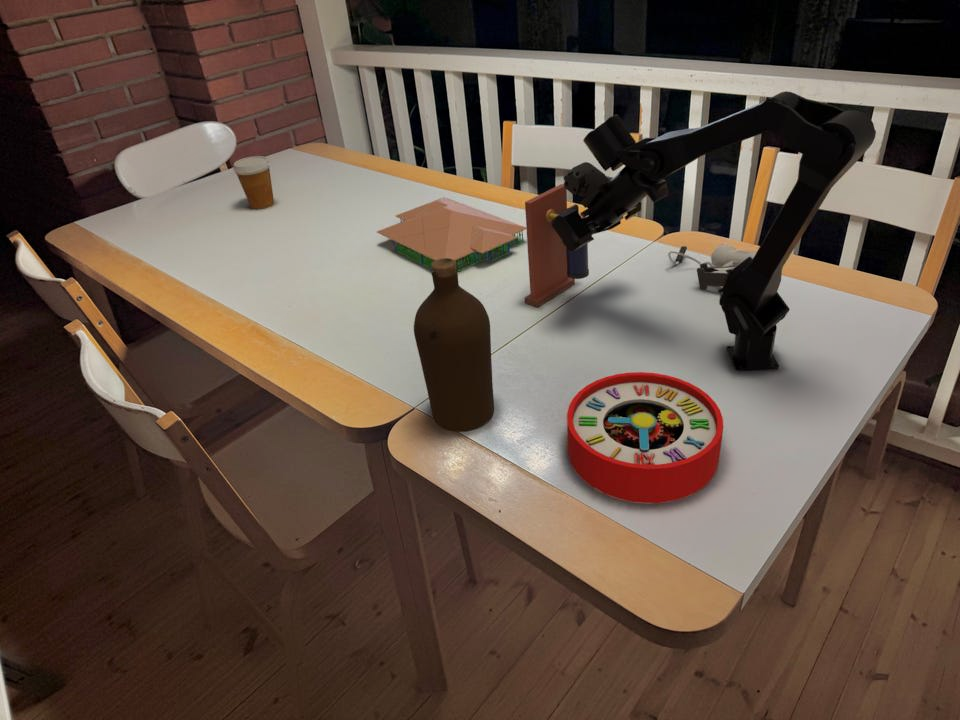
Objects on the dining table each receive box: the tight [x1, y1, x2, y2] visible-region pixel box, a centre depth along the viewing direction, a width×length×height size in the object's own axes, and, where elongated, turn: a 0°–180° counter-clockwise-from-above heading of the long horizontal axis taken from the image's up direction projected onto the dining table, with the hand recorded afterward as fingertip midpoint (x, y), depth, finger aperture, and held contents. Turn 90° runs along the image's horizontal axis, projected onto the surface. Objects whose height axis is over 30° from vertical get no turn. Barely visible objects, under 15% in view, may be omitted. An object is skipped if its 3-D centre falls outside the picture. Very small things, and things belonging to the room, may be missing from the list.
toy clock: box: [566, 371, 724, 504], centre depth 93 cm, size 20×6×20 cm
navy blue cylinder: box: [562, 204, 590, 280], centre depth 123 cm, size 6×4×13 cm
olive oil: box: [413, 258, 495, 433], centre depth 98 cm, size 11×11×25 cm
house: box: [376, 196, 527, 273], centre depth 154 cm, size 23×33×8 cm
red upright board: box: [524, 183, 576, 308], centre depth 126 cm, size 7×11×20 cm, turn 136°
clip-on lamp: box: [667, 243, 757, 290], centre depth 132 cm, size 12×6×18 cm
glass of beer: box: [232, 155, 275, 210], centre depth 185 cm, size 10×10×12 cm
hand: (571, 239), depth 125 cm, fingers closed on navy blue cylinder, 4 cm apart
